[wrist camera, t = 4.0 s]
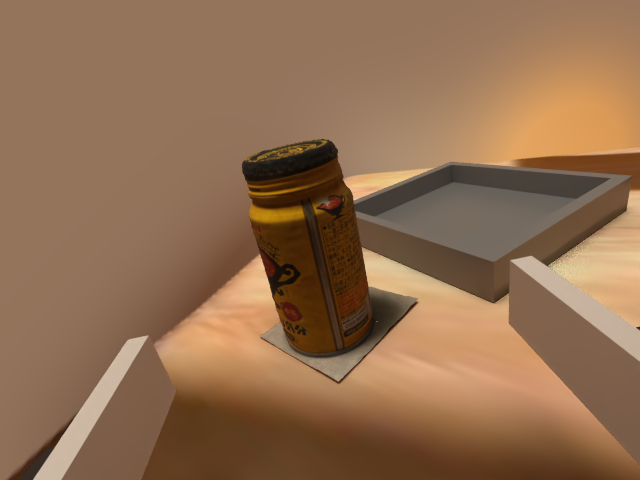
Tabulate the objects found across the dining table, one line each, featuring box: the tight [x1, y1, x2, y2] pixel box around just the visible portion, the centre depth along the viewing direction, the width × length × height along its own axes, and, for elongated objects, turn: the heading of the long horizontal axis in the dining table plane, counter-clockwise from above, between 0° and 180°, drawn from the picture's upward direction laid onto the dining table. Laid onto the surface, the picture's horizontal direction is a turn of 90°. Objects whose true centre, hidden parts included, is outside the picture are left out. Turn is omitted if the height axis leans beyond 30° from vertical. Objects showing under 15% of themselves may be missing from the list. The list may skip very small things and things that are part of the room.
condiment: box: [242, 139, 418, 382], centre depth 21 cm, size 7×8×12 cm
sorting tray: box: [353, 162, 632, 303], centre depth 33 cm, size 18×18×3 cm
